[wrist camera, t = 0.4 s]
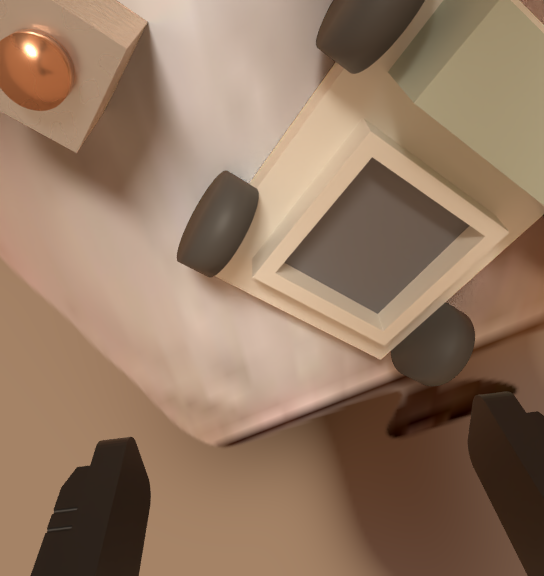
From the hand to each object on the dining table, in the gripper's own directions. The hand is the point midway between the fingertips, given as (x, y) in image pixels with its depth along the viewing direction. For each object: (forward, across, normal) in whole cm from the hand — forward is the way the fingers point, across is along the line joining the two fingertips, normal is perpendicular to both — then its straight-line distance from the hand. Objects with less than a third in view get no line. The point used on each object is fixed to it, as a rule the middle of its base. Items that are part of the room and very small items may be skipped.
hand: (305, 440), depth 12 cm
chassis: (+22, -8, +2) cm, 24 cm away
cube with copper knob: (+21, +9, -8) cm, 25 cm away
